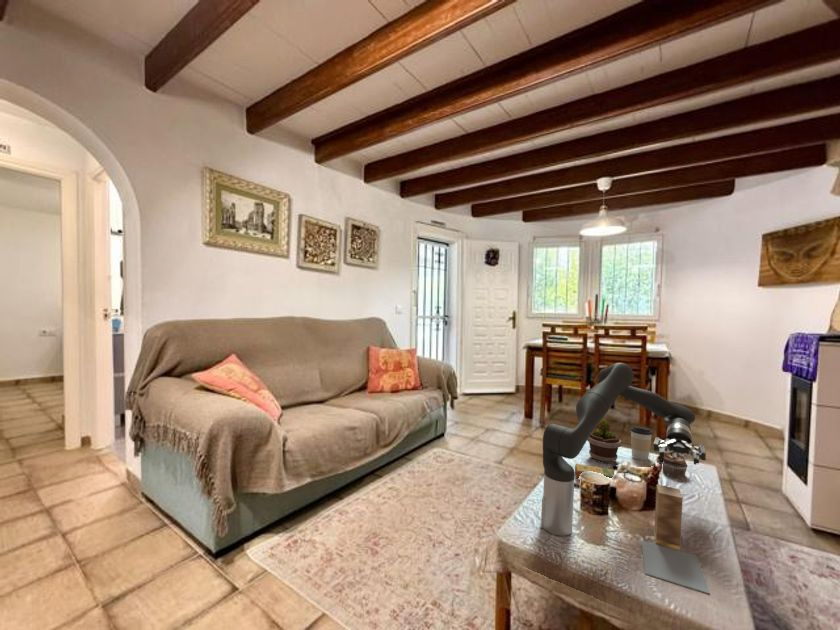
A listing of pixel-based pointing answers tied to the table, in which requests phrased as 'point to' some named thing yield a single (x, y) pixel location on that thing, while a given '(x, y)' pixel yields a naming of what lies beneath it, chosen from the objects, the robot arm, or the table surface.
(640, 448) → the coffee cup
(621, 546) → the table surface
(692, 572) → the slate mat
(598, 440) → the flowerpot
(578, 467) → the carton
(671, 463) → the cupcake
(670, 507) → the walnut block
